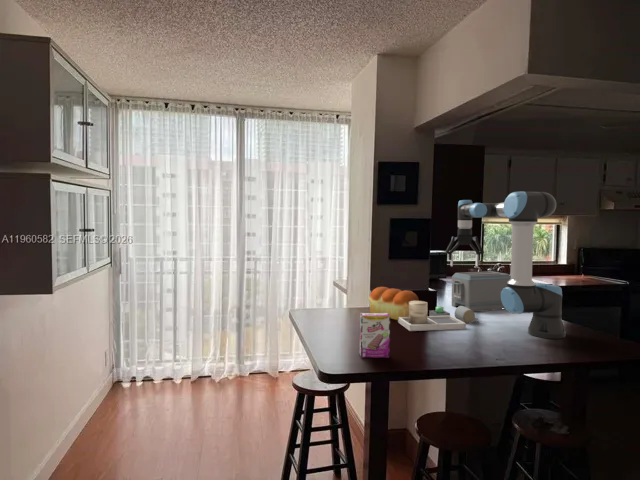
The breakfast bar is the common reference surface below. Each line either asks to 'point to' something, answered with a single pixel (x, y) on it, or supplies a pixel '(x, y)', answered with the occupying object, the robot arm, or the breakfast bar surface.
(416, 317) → the cylinder
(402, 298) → the bread
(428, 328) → the white divided tray
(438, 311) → the button
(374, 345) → the candy bar box
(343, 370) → the breakfast bar surface
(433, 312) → the button housing
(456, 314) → the ceramic mug
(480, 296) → the toaster
